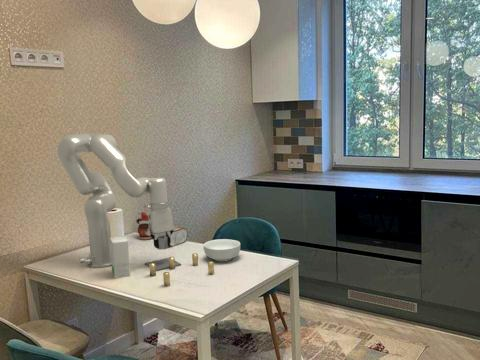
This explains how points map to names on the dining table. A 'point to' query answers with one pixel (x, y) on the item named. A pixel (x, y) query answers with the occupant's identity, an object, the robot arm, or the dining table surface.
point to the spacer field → (172, 266)
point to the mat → (162, 264)
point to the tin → (178, 236)
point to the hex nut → (163, 242)
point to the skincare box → (120, 256)
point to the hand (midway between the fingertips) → (162, 246)
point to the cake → (143, 225)
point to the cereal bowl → (222, 249)
